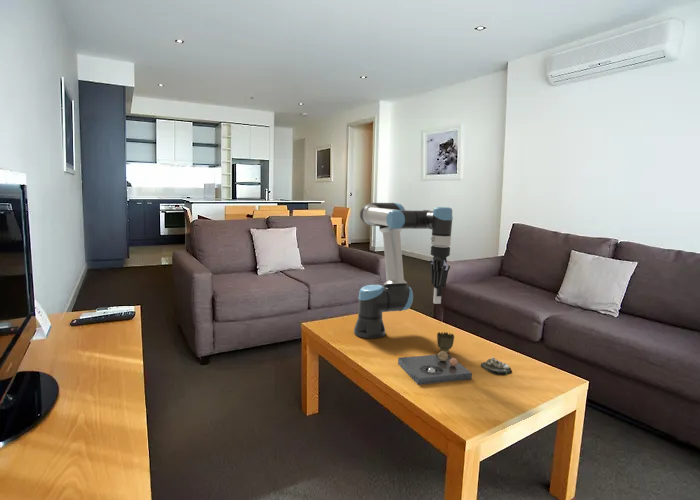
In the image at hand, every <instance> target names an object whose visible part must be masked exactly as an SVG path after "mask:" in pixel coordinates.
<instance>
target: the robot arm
mask: <svg viewBox="0 0 700 500" xmlns="http://www.w3.org/2000/svg"><path fill="white" fill-rule="evenodd" d="M359 218H360V220H361V222H362V223H363V224H364V225H367V226H372V227H379V232H381V233H382V237H383V238H382V240H383V250H384V251H383V252H384V253H383V254H384V263H385V264H384V266H385V277H386V278H385V279H386V281H385V282H384V283H383V285H380V284H369V285H364V286H362V287H360V289H359V292H358V293H359V294H358V314H357V317H358V318H357V319H356V322H355V325H354V328H353V333H354V335H355V336H356V337H360V338H362V339H380V338H382V337H384V336H385V335H386V328H385V324H384V321H383V313H387V312H402V311H406V310H409V309H410V308H411V306H412V304H413V300H414V292H413V289H412V288H411V287H410V286H408V282H407V281H406V279H405V277H404V264H403V253H402V240H401V239H402V238H401V232H402V230H403V229H405V230H408V229H410V230H411V229H412V230H413V229H414V230H415V229H416V230H418V229H419V230H421V229H422V230H426V229H427V230H431V238H430V240H431V246H430V255H431V256H433V257H432V260H429V264H430V265H429V266H430V281H431V285H432V286H433V298H432V299H433V301H432V304H435V305H436V304H437V305H438V304H442V292H443V291H442V289H443V288H446V285H447V280H448V277H449V276H448V275H449V274H448V273H449V271H450V269H451V266H450V265H448V264H447V262H448V260H447V258H448V257H449V256H450V255H451V247H450V246H451V244H452V243H451V240H452V226H453V218H454V217H453V208H451V207H446V206H444V207H443V206H435V207H434V208H433V210H430V209H429V210H428V209H423V210H407V209H406V210H405V207H404V206H403V205H402V204H401V203H398V202H397V203H395V202H370V203H366V204H365V205H363V206H362V207H361V209H360V212H359Z"/></svg>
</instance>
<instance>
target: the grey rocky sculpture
mask: <svg viewBox="0 0 700 500" xmlns="http://www.w3.org/2000/svg"><path fill="white" fill-rule="evenodd" d="M480 367H481V368H482V369H483V370H485V371H487V372H489V373H491V374H493V375H497V376H507V375H510V374H512V373H513V371H512V369H511V367H510V365H508V363H505V362H502V361H500V360H498V359H496V357H491V358H488V359H487V360H486V361H483V362H481V363H480Z"/></svg>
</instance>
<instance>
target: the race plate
mask: <svg viewBox="0 0 700 500" xmlns="http://www.w3.org/2000/svg"><path fill="white" fill-rule="evenodd" d="M451 358H453V356H451V355H449V354H448V359H447V360H446V361H441V360H439V358H438V354H429V355H428V354H427V355H418V356H403V357H398V358H397V365H399V367H401V369H402V370H403V371H404V372H405V373H406V374H407V375H408V376H409V377H410V378H411V379H412V380H413V382H414V383H416V384H417V386H419V385H429V384H439V383H449V382H459V381H469V380H472V379H473V377H472V376H473V373H472V372H471V371H470V370H469V369H468V368H466V367H465V366H464V365H462V364H461V363H460V362H458V364H457V365H456V366H455V367H453V366H451V365H450V364H449V360H450V359H451ZM429 368H434V369H435V370H436V372H435V373H431V372H427V370H428V369H429Z"/></svg>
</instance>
